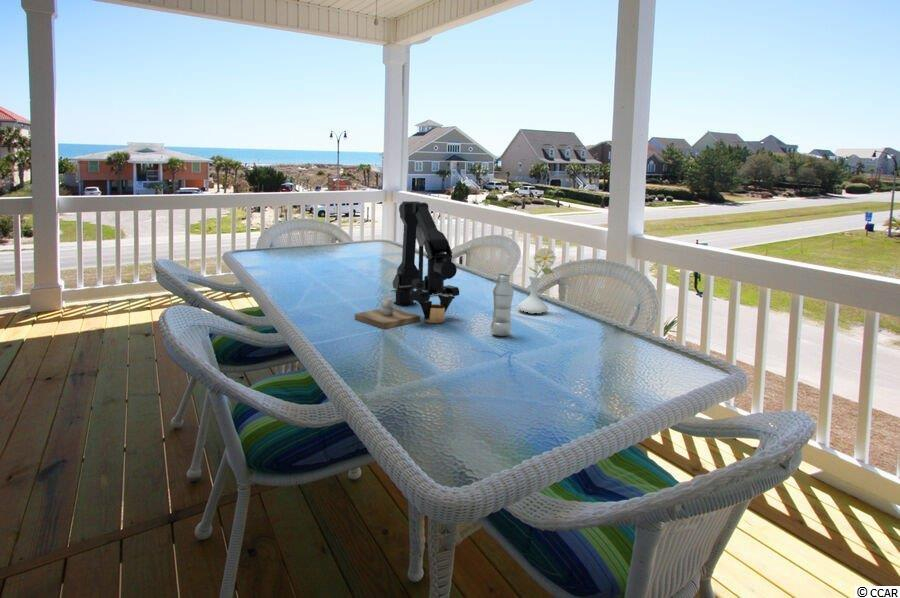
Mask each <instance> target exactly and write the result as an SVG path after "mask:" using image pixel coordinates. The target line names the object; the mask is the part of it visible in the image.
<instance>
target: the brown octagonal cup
mask: <svg viewBox="0 0 900 598" xmlns="http://www.w3.org/2000/svg"><path fill="white" fill-rule="evenodd" d="M445 315H446V312H445V306H444V305H440V303H432V305H431V310H430V315H429V318H428V319H425V316H423V317H424V318H423V322H425V323H429V324H441V323H445V317H446V316H445Z"/></svg>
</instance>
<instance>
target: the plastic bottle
mask: <svg viewBox="0 0 900 598" xmlns="http://www.w3.org/2000/svg"><path fill="white" fill-rule="evenodd" d="M510 281H511V274H507V273H499V274H498V275H497V284H495V286H494V287H493V290H492V291H493V292H492V295H493V312H492V313H493V315H492V320H491V325H490V332H491V334H492V335H493V336H498V337H506V336H509V335H510V334H511V331H512V321H511V319H512V318H511V317H512V316H511V315H512V314H511V311H512V309H511V308H512V302H513V299H514V298H513V297H514V293H515V291H514V288H513V286H512V284H511V283H510Z"/></svg>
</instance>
